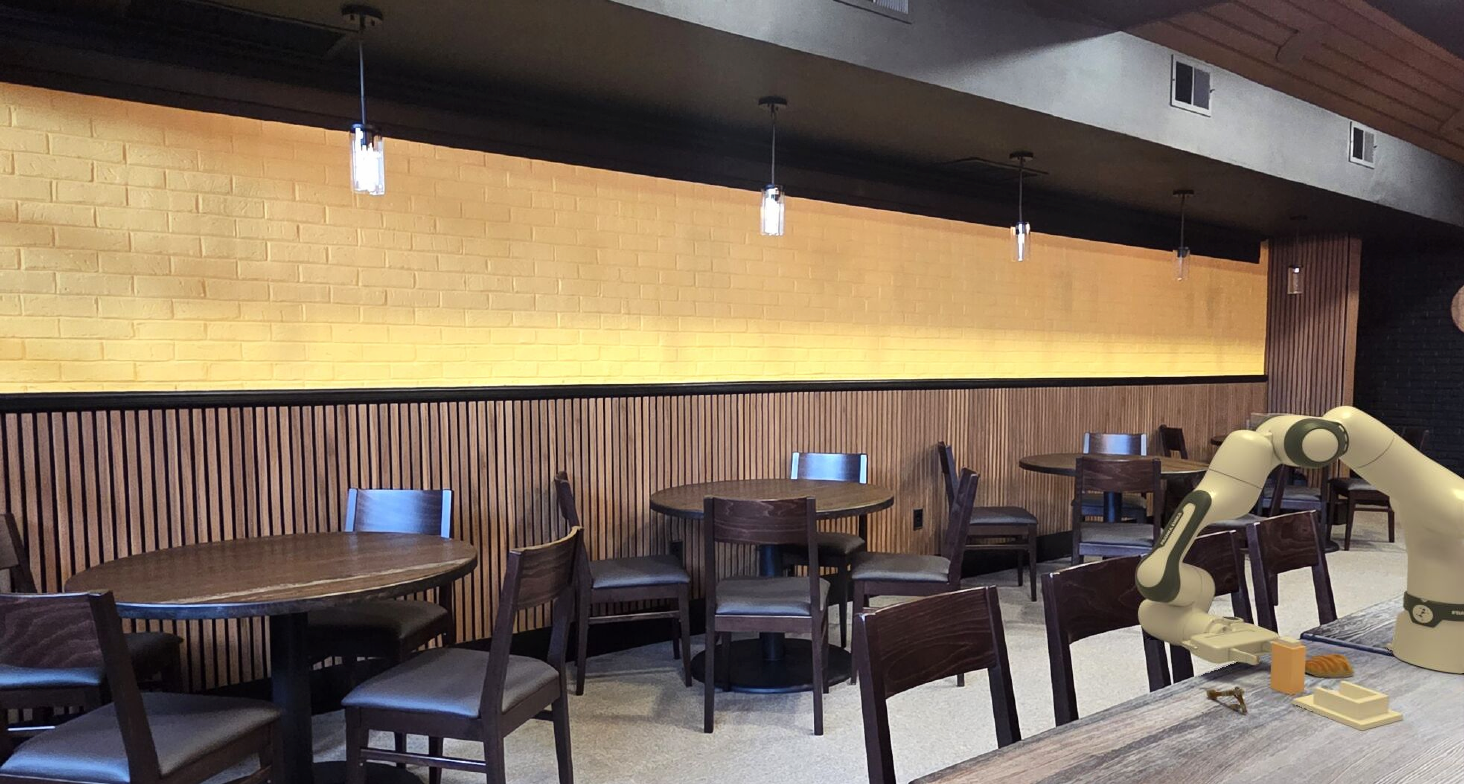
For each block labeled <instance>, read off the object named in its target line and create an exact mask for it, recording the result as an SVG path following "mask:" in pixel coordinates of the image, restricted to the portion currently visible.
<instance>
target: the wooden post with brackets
mask: <svg viewBox="0 0 1464 784" xmlns="http://www.w3.org/2000/svg"><path fill="white" fill-rule="evenodd" d="M1205 692H1206V696H1207V699H1208V700H1218V697H1232V696H1233V697H1234V698H1235V699H1236V700H1237V701H1238V703H1232V704H1229V709H1230V710H1235V711H1239V710H1241V712H1242V714H1247V713H1248V707H1247V705H1246V702H1245V700H1244V697H1243V695H1245V693H1246V691H1245V690H1244V689H1243V688H1240V686H1235V687H1234V689H1227V690H1221V691H1218V690H1217V691H1216V689H1215V688H1212V689H1211V688H1210V689H1205Z"/></svg>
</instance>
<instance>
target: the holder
mask: <svg viewBox="0 0 1464 784" xmlns="http://www.w3.org/2000/svg"><path fill="white" fill-rule="evenodd" d="M1389 703H1390V695H1387V694H1385V693H1382V692H1379V691H1375V690H1373V689H1370V688H1366V687H1364V686H1361V685H1358V684H1355V683H1351V682H1349V681H1346V680H1341V681H1340V682H1339V691H1338V690H1335V689H1332V690H1331V689H1330V690H1329V689H1326V688H1323V687H1321V686H1315V687H1314V688H1313V694H1310V695H1306V696H1300V697H1296V698H1293V699H1292V705H1293V704H1294V705H1293V706H1296V705H1298V706H1300V707H1299V708H1301V707H1302V709H1304V708H1306V709H1307V711H1310V712H1311V711H1313V712H1312V713H1315V714H1317V715H1319V714H1320V715H1319V716H1322V717H1324V716H1326V717H1325V718H1327V717H1328V719H1329V720H1332V719H1333V720H1332V721H1336V722H1337V723H1339V724H1340V723H1341V724H1343V725H1346V726H1349V727H1351V728H1354V729H1356V730H1359V731H1361V732H1362V731H1365V730H1370V729H1372V728H1376V727H1380V726H1384V725H1387V724H1388V725H1389V724H1391V723H1397V722H1399V721H1403V719H1404V718H1403V717H1404V714H1402V713H1401V712H1397V711H1395V710H1392V709H1390V708H1389ZM1298 706H1297V707H1298ZM1306 709H1305V710H1306Z"/></svg>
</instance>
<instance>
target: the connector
mask: <svg viewBox="0 0 1464 784" xmlns="http://www.w3.org/2000/svg"><path fill="white" fill-rule="evenodd" d="M1306 655H1307V646H1305V645H1302V640H1300V639H1297V638H1293V637H1289V636H1282V637H1281V638H1278V642H1274V643H1272V653H1271V663H1270V664H1271V665H1270V666H1271V667H1270V684H1269V685H1270V688H1271V689H1272V690H1275V691H1278V692H1280V691H1281V693H1284V694H1286V693H1287V694H1286V695H1288V694H1289V696H1293V694H1294V695H1297V694H1296V693H1299V694H1302V693H1301V692H1303V693H1305V677H1306V672H1305V661H1307V660H1306V659H1307V658H1306V657H1307V656H1306Z"/></svg>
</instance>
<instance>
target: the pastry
mask: <svg viewBox="0 0 1464 784" xmlns="http://www.w3.org/2000/svg"><path fill="white" fill-rule="evenodd" d="M1305 673H1307V674H1310V675H1311V676H1315V677H1318V678H1326V677H1330V678H1331V679H1338V678H1340V677H1344V678H1350V676H1351V677H1353V675H1355V670H1354V668H1353V665H1352V664H1351V663H1350V661H1349V659H1348V658H1347V657H1346V656H1344V655H1342V654H1340V653H1339V654H1337V653H1335V654H1334V653H1330V654H1317V655H1314V656H1312V658H1308V659H1307V660H1306V661H1305ZM1340 679H1341V678H1340Z"/></svg>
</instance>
